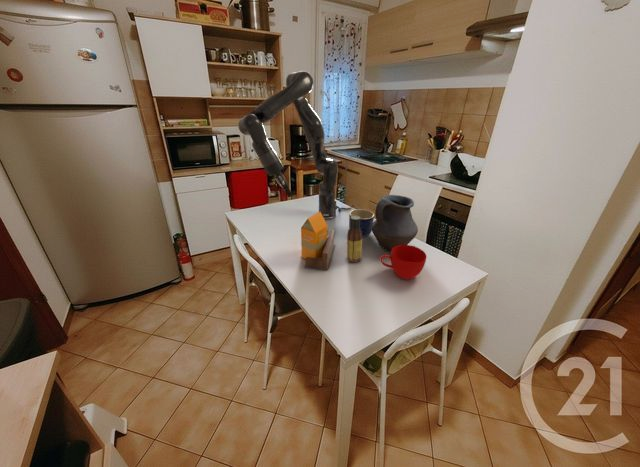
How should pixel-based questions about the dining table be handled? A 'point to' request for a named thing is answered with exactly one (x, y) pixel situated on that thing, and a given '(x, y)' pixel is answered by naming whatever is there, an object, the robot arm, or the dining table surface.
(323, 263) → the wooden stand
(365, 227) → the planter
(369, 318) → the dining table surface
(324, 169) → the robot arm
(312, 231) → the orange juice
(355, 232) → the sauce bottle
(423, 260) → the ceramic cup
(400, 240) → the pitcher
